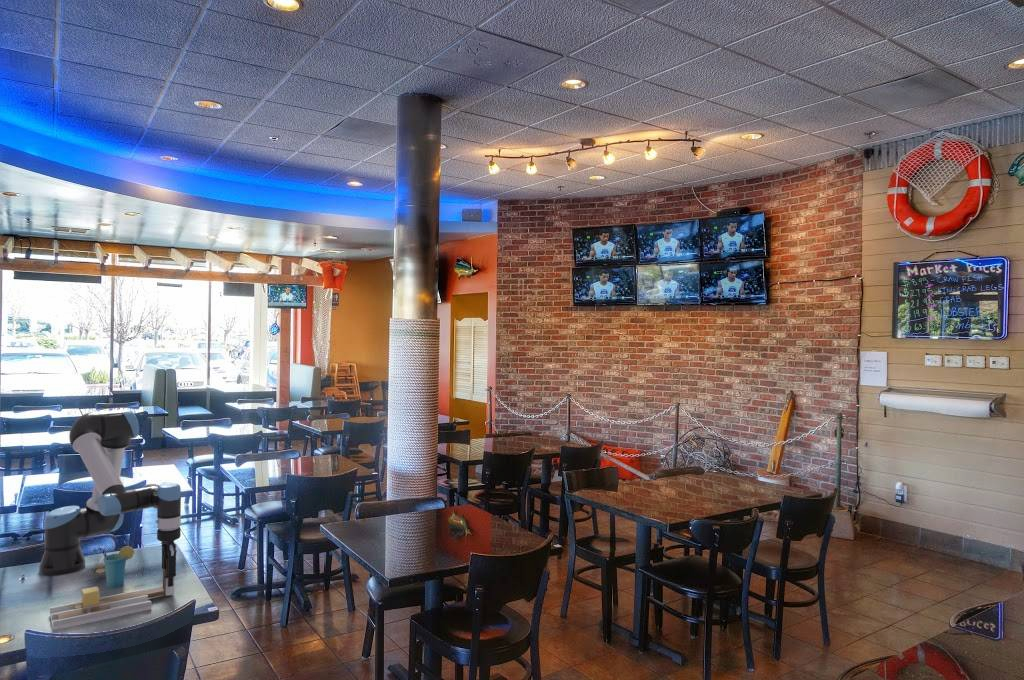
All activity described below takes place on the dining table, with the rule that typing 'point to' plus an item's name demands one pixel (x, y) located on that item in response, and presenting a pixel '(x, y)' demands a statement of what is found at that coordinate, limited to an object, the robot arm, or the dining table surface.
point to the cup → (116, 566)
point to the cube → (90, 596)
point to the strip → (133, 594)
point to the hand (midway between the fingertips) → (168, 592)
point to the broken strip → (82, 612)
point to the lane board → (115, 610)
